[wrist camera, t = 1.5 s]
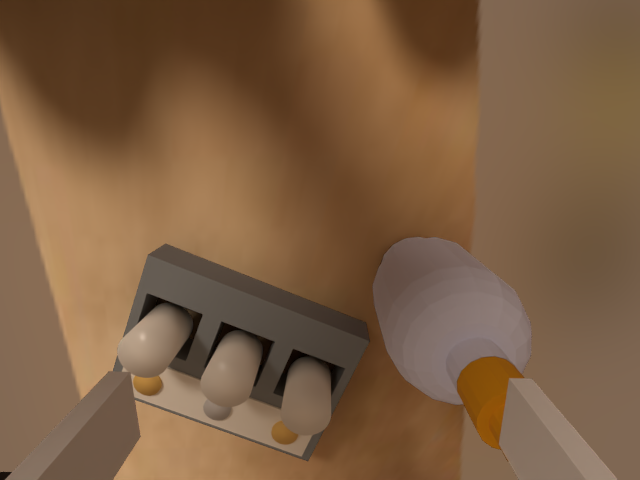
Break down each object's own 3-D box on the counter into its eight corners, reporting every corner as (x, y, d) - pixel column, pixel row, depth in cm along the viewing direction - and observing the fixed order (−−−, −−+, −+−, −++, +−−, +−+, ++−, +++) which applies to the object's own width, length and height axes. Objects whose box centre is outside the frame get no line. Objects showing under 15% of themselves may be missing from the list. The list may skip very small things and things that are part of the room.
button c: (281, 384, 41) (273, 425, 35) (297, 350, 40) (291, 386, 34) (320, 399, 41) (319, 442, 35) (337, 365, 40) (339, 403, 34)
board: (126, 367, 44) (104, 392, 40) (165, 243, 40) (145, 256, 36) (309, 434, 46) (307, 465, 42) (365, 322, 42) (370, 343, 38)
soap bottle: (429, 325, 42) (555, 559, 18) (349, 287, 41) (376, 483, 18) (479, 248, 39) (698, 407, 16) (395, 206, 38) (498, 309, 15)
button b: (213, 359, 40) (193, 396, 34) (227, 323, 39) (209, 355, 33) (254, 374, 41) (241, 414, 35) (269, 339, 39) (259, 373, 34)
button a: (143, 333, 40) (111, 366, 34) (155, 296, 38) (124, 323, 33) (185, 349, 40) (161, 384, 34) (198, 312, 39) (176, 343, 33)
